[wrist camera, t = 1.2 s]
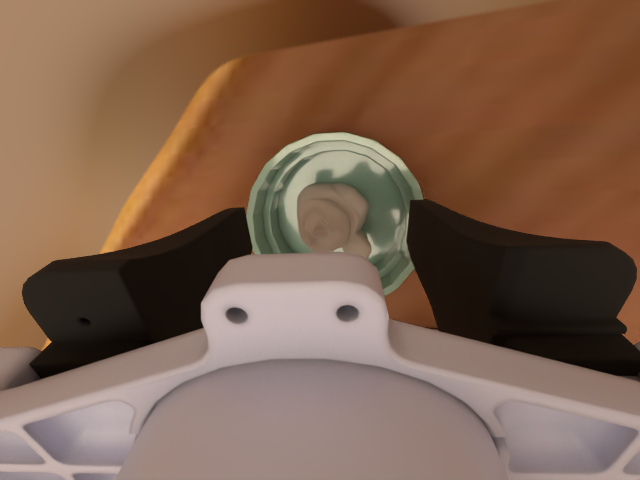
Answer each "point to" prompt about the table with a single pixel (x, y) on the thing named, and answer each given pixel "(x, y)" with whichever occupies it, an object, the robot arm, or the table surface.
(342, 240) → the rubber duck
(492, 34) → the table surface
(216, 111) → the table surface
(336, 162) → the bowl
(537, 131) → the table surface
